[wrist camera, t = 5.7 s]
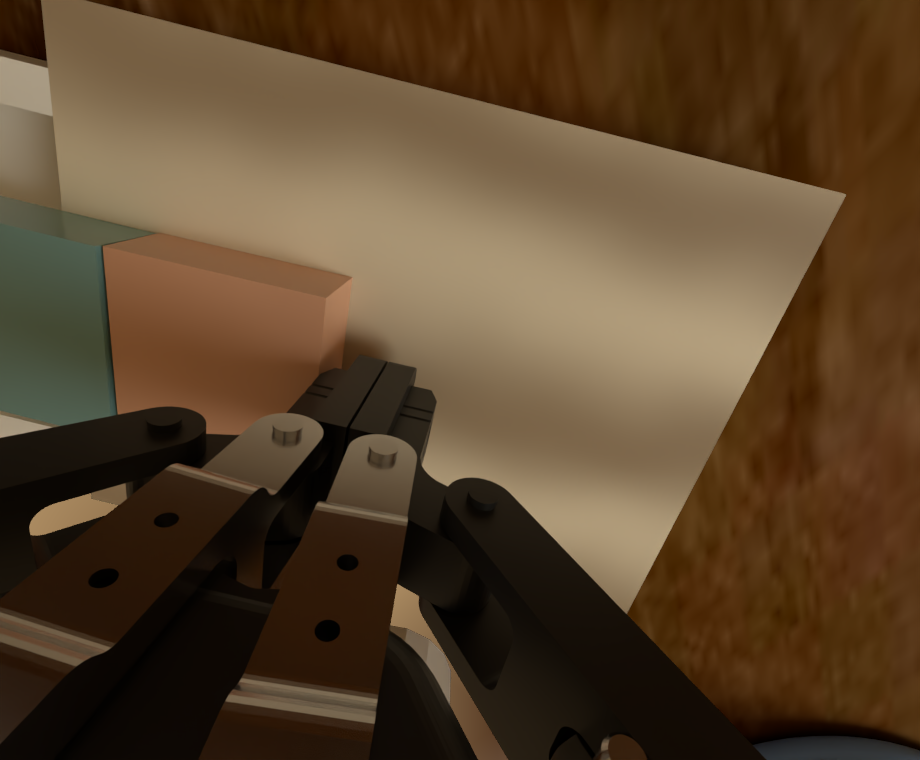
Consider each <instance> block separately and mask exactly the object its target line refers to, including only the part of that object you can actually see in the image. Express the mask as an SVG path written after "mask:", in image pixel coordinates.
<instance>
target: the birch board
mask: <svg viewBox="0 0 920 760" xmlns="http://www.w3.org/2000/svg"><path fill="white" fill-rule="evenodd" d="M41 5H42V15H43V24H44V34H45V44H46V54H47V64H48V74H49V84H50V94H51V103H52V113H53V123H54V133H55V143H56V153H57V163H58V173H59V183H60V192H61V202H62V211H66V212H70V213H74V214H78V215H82V216H87V217H91V218H95V219H99V220H103V221H107V222H111V223H115V224H119V225H124V226H128V227H132V228H136V229H140V230H144V231H148V232H152V233H156V234H157V233H164V234H168V235H172V236H177V237H181V238H185V239H190V240H194V241H198V242H203V243H207V244H211V245H216V246H220V247H224V248H228V249H233V250H237V251H241V252H246V253H250V254H254V255H259V256H263V257H267V258H272V259H276V260H280V261H284V262H289V263H293V264H297V265H302V266H306V267H310V268H315V269H319V270H323V271H328V272H332V273H336V274H340V275H345V276H349V277H353V278H352V286H351V294H350V302H349V311H348V319H347V327H346V335H345V344H344V352H343V360H342V369H343V370H348V369H349V368H350V366H351V365H352V364H353V362H354V361H355V360H356V358H357V357H358V356H359V355H364V356H368V357H372V358H376V359H381V360H385V361H388V362H394V363H398V364H402V365H406V366H411V367H415V368H417V372H416V378H415V383H414V386H415V387H420V388H424V389H428V390H432V392H433V394H434V396H435V398H436V400H437V403H436V408H435V412H434V417H433V421H432V426H431V431H430V435H429V440H428V444H427V449H426V453H425V456H424V460H423V463H422V467H423V468H424V470H425V471H426V472H427V474H429V475H430V476H431V477H432V478H433V479H435V480H436V481H438V482H440V483H442V484H444V485H446V486H449V485H450V484H451V483H452V482H454V481H456V480H458V479H462V478H481V479H486V480H489V481H492V482H494V483H496V484H498V485H500V486H502V487H503V488H505V489H506V490H507V491H508V492H509V493H510V494H511V495H512V496H513V497H514V498H515V499H516V500H517V501H518V502H519V503H520V504H521V505H522V506H523V507H524V508H525V509H526V510H527V511H528V512H529V513H530V514H531V515H532V516H533V517H534V518H535V520H536V521H537V522H538V523H539V524H540V525H541V526H542V527H543V528H544V529H545V530H546V531H547V532H548V533H549V534H550V535H551V536H552V537H553V538H554V539H555V540H556V541H557V542H558V543H559V544H560V546H561V547H562V548H563V549H564V550H565V551H566V552H567V553H568V554H569V555H570V556H571V557H572V558H573V559H574V560H575V561H576V562H577V563H578V564H579V565H580V566H581V567H582V568H583V569H584V570H585V572H586V573H587V574H588V575H589V576H590V577H591V578H592V579H593V580H594V581H595V582H596V583H597V584H598V585H599V586H600V587H601V588H602V589H603V590H604V591H605V592H606V593H607V594H608V595H609V596H610V598H611V599H612V600H613V601H614V602H615V603H616V604H617V605H618V606H619V607H620V608H621V609H622V610H623V611H624V612H625V613H626V614H627V612H628V610H629V608H630V606H631V604H632V603H633V601H634V599H635V597H636V595H637V593H638V591H639V589H640V587H641V585H642V583H643V582H644V580H645V578H646V576H647V574H648V572H649V570H650V568H651V566H652V564H653V562H654V561H655V559H656V557H657V555H658V553H659V551H660V549H661V547H662V545H663V543H664V541H665V540H666V538H667V536H668V534H669V532H670V530H671V528H672V526H673V524H674V522H675V520H676V519H677V517H678V515H679V513H680V511H681V509H682V507H683V505H684V503H685V501H686V499H687V498H688V496H689V494H690V492H691V490H692V488H693V486H694V484H695V482H696V480H697V478H698V477H699V475H700V473H701V471H702V469H703V467H704V465H705V463H706V461H707V459H708V457H709V456H710V454H711V452H712V450H713V448H714V446H715V444H716V442H717V440H718V438H719V436H720V435H721V433H722V431H723V429H724V427H725V425H726V423H727V421H728V419H729V417H730V416H731V414H732V412H733V410H734V408H735V406H736V404H737V402H738V400H739V398H740V396H741V395H742V393H743V391H744V389H745V387H746V385H747V383H748V381H749V379H750V377H751V375H752V374H753V372H754V370H755V368H756V366H757V364H758V362H759V360H760V358H761V356H762V354H763V353H764V351H765V349H766V347H767V345H768V343H769V341H770V339H771V337H772V335H773V333H774V332H775V330H776V328H777V326H778V324H779V322H780V320H781V318H782V316H783V314H784V312H785V311H786V309H787V307H788V305H789V303H790V301H791V299H792V297H793V295H794V293H795V291H796V290H797V288H798V286H799V284H800V282H801V280H802V278H803V276H804V274H805V272H806V270H807V269H808V267H809V265H810V263H811V261H812V259H813V257H814V255H815V253H816V251H817V249H818V248H819V246H820V244H821V242H822V240H823V238H824V236H825V234H826V232H827V230H828V228H829V227H830V225H831V223H832V221H833V219H834V217H835V215H836V213H837V211H838V209H839V207H840V206H841V204H842V202H843V200H844V198H845V196H846V194H843V193H839V192H835V191H831V190H827V189H823V188H819V187H815V186H811V185H807V184H803V183H799V182H796V181H792V180H788V179H784V178H780V177H776V176H772V175H768V174H764V173H760V172H756V171H752V170H748V169H745V168H741V167H737V166H733V165H729V164H725V163H721V162H717V161H713V160H709V159H705V158H701V157H697V156H694V155H690V154H686V153H682V152H678V151H674V150H670V149H666V148H662V147H658V146H654V145H650V144H646V143H643V142H639V141H635V140H631V139H627V138H623V137H619V136H615V135H611V134H607V133H603V132H599V131H595V130H592V129H588V128H584V127H580V126H576V125H572V124H568V123H564V122H560V121H556V120H552V119H548V118H544V117H541V116H537V115H533V114H529V113H525V112H521V111H517V110H513V109H509V108H505V107H501V106H497V105H493V104H490V103H486V102H482V101H478V100H474V99H470V98H466V97H462V96H458V95H454V94H450V93H446V92H442V91H439V90H435V89H431V88H427V87H423V86H419V85H415V84H411V83H407V82H403V81H399V80H395V79H391V78H388V77H384V76H380V75H376V74H372V73H368V72H364V71H360V70H356V69H352V68H348V67H344V66H340V65H337V64H333V63H329V62H325V61H321V60H317V59H313V58H309V57H305V56H301V55H297V54H293V53H289V52H286V51H282V50H278V49H274V48H270V47H266V46H262V45H258V44H254V43H250V42H246V41H242V40H238V39H235V38H231V37H227V36H223V35H219V34H215V33H211V32H207V31H203V30H199V29H195V28H191V27H187V26H183V25H180V24H176V23H172V22H168V21H164V20H160V19H156V18H152V17H148V16H144V15H140V14H136V13H132V12H129V11H125V10H121V9H117V8H113V7H109V6H105V5H101V4H97V3H93V2H89V1H85V0H41ZM91 498H92V499H95V500H99V501H103V502H107V503H111V504H115V505H120V504H121V503H122V502H124V501H125V500H126V499H127V496H126V484H121V485H118V486H114V487H111V488H107V489H104V490H100V491H97V492H93V493H91Z"/></svg>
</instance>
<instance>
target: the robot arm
mask: <svg viewBox="0 0 920 760" xmlns="http://www.w3.org/2000/svg"><path fill="white" fill-rule="evenodd" d="M416 372H417V368H415V367H411V366H406V365H402V364H398V363H394V362H388V361H385V360H381V359H376V358H372V357H368V356H364V355H359V356H358V357H357V358H356V360H355V361H354V362H353V364H352V365H351V366H350V368H349V369H348V370H343V369H338V368H333V369H331V370H328V371H326V372H324V373H321V374H320V375H319V376H318V377H317V378H316V379H315V380H314V382H313V383H312V385H310V386H309V387H308V388H307V390H306V391H305V393H303V394H302V395H301V397H300V398H299V399H298V400H297V401H296V402H295V403H294V405H293V406H292V407H291V408H290V409H289V410H288V411H287V413H278V414H272V415H268V416H265V417H262V418H260V419H258V420H257V421H256V422H254V423H253V424H252V425H251V426H250V427H249V428H247V429H246V430H245V431H244V432H243V433H242V434H240V435H225V434H206V420H205V418H204V417H203V416H202V415H201V414H199V413H198V412H196V411H193V410H191V409H187V408H182V407H173V406H165V407H155V408H149V409H144V410H139V411H134V412H129V413H124V414H119V415H114V416H108V417H103V418H98V419H93V420H88V421H83V422H78V423H73V424H68V425H63V426H58V427H53V428H48V429H43V430H38V431H32V432H27V433H22V434H17V435H12V436H7V437H2V438H0V760H478V759H477V757H476V755H475V754H474V751H473V749H472V748H471V745H470V743H469V742H468V740H467V738H466V736H465V734H464V732H463V730H462V728H461V726H460V724H459V722H458V720H457V718H456V716H455V714H454V712H453V710H452V709H451V707H450V705H449V703H448V701H447V699H446V697H445V695H444V693H443V691H442V689H441V687H440V685H439V683H438V681H437V680H436V678H435V676H434V674H433V673H432V672H431V670H430V669H429V667H428V666H427V664H426V663H425V662H424V660H423V659H422V658H421V657H420V656H419V655H418V653H417V652H416V651H415V650H414V649H413V648H412V647H411V646H410V645H409V644H407V643H406V642H405V641H404V640H403V639H402V638H400V637H399V636H397V635H396V634H395V633H393V632H392V631H390V630H389V629H390V623H391V617H392V611H393V605H394V599H395V593H396V587H397V584H399V585H401V586H402V587H404V588H406V589H408V590H410V591H411V592H413V593H415V594H416V595H418V596H419V608H420V611H421V614H422V616H423V618H424V619H425V621H426V623H427V624H428V626H429V628H430V629H431V631H432V633H433V634H434V636H435V638H436V639H437V641H438V643H439V644H440V646H441V647H442V649H443V651H444V652H445V654H446V656H447V658H448V659H449V661H450V663H451V664H452V666H453V668H454V669H455V671H456V672H457V674H458V676H459V677H460V679H461V681H462V683H463V684H464V686H465V688H466V689H467V691H468V693H469V695H470V696H471V698H472V699H473V701H474V703H475V705H476V706H477V708H478V710H479V711H480V713H481V714H482V716H483V718H484V720H485V721H486V723H487V725H488V726H489V728H490V729H491V731H492V733H493V735H494V736H495V738H496V740H497V741H498V743H499V745H500V746H501V748H502V750H503V751H504V753H505V755H506V756H507V758H508V759H509V760H766V759H765V758H764V757H763V756H762V755H761V753H760V752H759V751H758V750H757V749H756V748H755V747H754V746H753V745H752V744H751V743H750V742H749V741H748V740H747V739H746V738H745V737H744V736H743V735H742V734H741V733H740V732H739V731H738V730H737V729H736V727H735V726H734V725H733V724H732V723H731V722H730V721H729V720H728V719H727V718H726V717H725V716H724V715H723V714H722V713H721V712H720V711H719V710H718V709H717V708H716V707H715V706H714V705H713V704H712V703H711V701H710V700H709V699H708V698H707V697H706V696H705V695H704V694H703V693H702V692H701V691H700V690H699V689H698V688H697V687H696V686H695V685H694V684H693V683H692V682H691V681H690V680H689V679H688V678H687V677H686V675H685V674H684V673H683V672H682V671H681V670H680V669H679V668H678V667H677V666H676V665H675V664H674V663H673V662H672V661H671V660H670V659H669V658H668V657H667V656H666V655H665V654H664V653H663V652H662V651H661V649H660V648H659V647H658V646H657V645H656V644H655V643H654V642H653V641H652V640H651V639H650V638H649V637H648V636H647V635H646V634H645V633H644V632H643V631H642V630H641V629H640V628H639V627H638V626H637V625H636V624H635V622H634V621H633V620H632V619H631V618H630V617H629V616H628V615H627V614H626V613H625V612H624V611H623V610H622V609H621V608H620V607H619V606H618V605H617V604H616V603H615V602H614V601H613V600H612V599H611V598H610V596H609V595H608V594H607V593H606V592H605V591H604V590H603V589H602V588H601V587H600V586H599V585H598V584H597V583H596V582H595V581H594V580H593V579H592V578H591V577H590V576H589V575H588V574H587V573H586V572H585V570H584V569H583V568H582V567H581V566H580V565H579V564H578V563H577V562H576V561H575V560H574V559H573V558H572V557H571V556H570V555H569V554H568V553H567V552H566V551H565V550H564V549H563V548H562V547H561V546H560V544H559V543H558V542H557V541H556V540H555V539H554V538H553V537H552V536H551V535H550V534H549V533H548V532H547V531H546V530H545V529H544V528H543V527H542V526H541V525H540V524H539V523H538V522H537V521H536V520H535V518H534V517H533V516H532V515H531V514H530V513H529V512H528V511H527V510H526V509H525V508H524V507H523V506H522V505H521V504H520V503H519V502H518V501H517V500H516V499H515V498H514V497H513V496H512V495H511V494H510V493H509V492H508V491H507V490H506V489H505V488H503V487H502V486H500V485H498V484H496V483H494V482H492V481H489V480H486V479H481V478H462V479H458V480H456V481H454V482H452V483H451V484H450V485H449V486H446V485H444V484H442V483H440V482H438V481H436V480H435V479H433V478H432V477H431V476H430V475H429V474H427V472H426V471H425V470H424V468H423V467H422V463H423V460H424V456H425V453H426V449H427V444H428V440H429V435H430V431H431V426H432V421H433V417H434V412H435V408H436V403H437V400H436V398H435V396H434V394H433V392H432V390H428V389H424V388H420V387H415V386H414V383H415V378H416ZM121 484H126V496H127V499H126V500H125V501H124V502H122V503H121V504H120V505H118V506H117V507H116V508H115V509H114V510H113V511H111V512H110V513H108V514H107V515H106V516H102V517H99V518H96V519H93V520H90V521H86V522H83V523H80V524H77V525H74V526H71V527H68V528H64V529H61V530H58V531H55V532H52V533H48V534H46V535H40V536H32V535H30V532H29V525H30V522H31V520H32V518H33V517H34V516H35V515H36V514H37V513H38V512H39V511H40V510H42V509H43V508H45V507H47V506H49V505H52V504H54V503H57V502H61V501H65V500H68V499H72V498H75V497H79V496H82V495H86V494H89V493H93V492H97V491H100V490H104V489H107V488H111V487H114V486H118V485H121Z"/></svg>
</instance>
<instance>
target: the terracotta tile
mask: <svg viewBox="0 0 920 760" xmlns="http://www.w3.org/2000/svg"><path fill="white" fill-rule="evenodd" d="M103 256H104V267H105V278H106V290H107V301H108V312H109V323H110V334H111V346H112V357H113V368H114V379H115V391H116V402H117V413H118V415H119V414H124V413H129V412H134V411H139V410H144V409H149V408H155V407H165V406H173V407H182V408H187V409H191V410H193V411H196V412H198V413H199V414H201V415H202V416H203V417H204V418H205V420H206V434H225V435H240V434H242V433H243V432H244V431H245V430H246V429H247V428H249V427H250V426H251V425H252V424H253V423H254V422H256V421H257V420H258V419H260V418H262V417H265V416H268V415H272V414H278V413H287V411H288V410H289V409H290V408H291V407H292V406H293V405H294V403H295V402H296V401H297V400H298V399H299V398H300V397H301V395H302V394H303V393H305V391H306V390H307V388H308V387H309V386H310V385H312V383H313V382H314V380H315V379H316V378H317V377H318V376H319V375H320V374H321V373H324V372H326V371H328V370H331V369H333V368H338V369H342V360H343V352H344V344H345V335H346V327H347V319H348V311H349V302H350V294H351V286H352V278H353V277H349V276H345V275H340V274H336V273H332V272H328V271H323V270H319V269H315V268H310V267H306V266H302V265H297V264H293V263H289V262H284V261H280V260H276V259H272V258H267V257H263V256H259V255H254V254H250V253H246V252H241V251H237V250H233V249H228V248H224V247H220V246H216V245H211V244H207V243H203V242H198V241H194V240H190V239H185V238H181V237H177V236H172V235H168V234H164V233H157V234H152V235H148V236H144V237H139V238H135V239H131V240H127V241H122V242H118V243H114V244H109V245H105V246H103Z"/></svg>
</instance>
